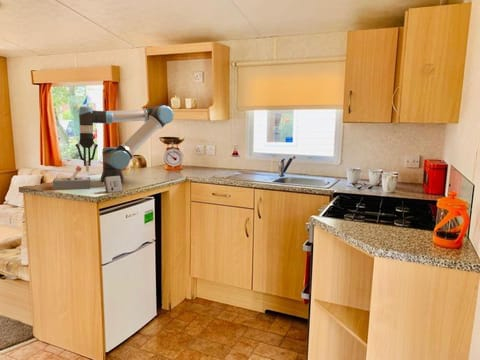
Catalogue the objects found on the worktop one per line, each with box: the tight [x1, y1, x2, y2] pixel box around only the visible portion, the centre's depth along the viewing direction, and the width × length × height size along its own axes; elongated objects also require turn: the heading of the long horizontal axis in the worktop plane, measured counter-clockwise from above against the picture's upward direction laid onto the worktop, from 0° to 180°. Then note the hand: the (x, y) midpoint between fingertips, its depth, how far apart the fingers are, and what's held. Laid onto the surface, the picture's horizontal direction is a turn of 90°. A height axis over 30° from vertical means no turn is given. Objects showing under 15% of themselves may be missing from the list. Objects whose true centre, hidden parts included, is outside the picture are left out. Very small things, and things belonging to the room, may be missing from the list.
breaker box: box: [52, 176, 91, 191], centre depth 221 cm, size 20×13×5 cm, turn 112°
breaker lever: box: [69, 165, 82, 180], centre depth 220 cm, size 3×6×10 cm
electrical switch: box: [104, 176, 123, 194], centre depth 211 cm, size 9×5×9 cm, turn 141°
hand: (87, 171), depth 224 cm, fingers closed
